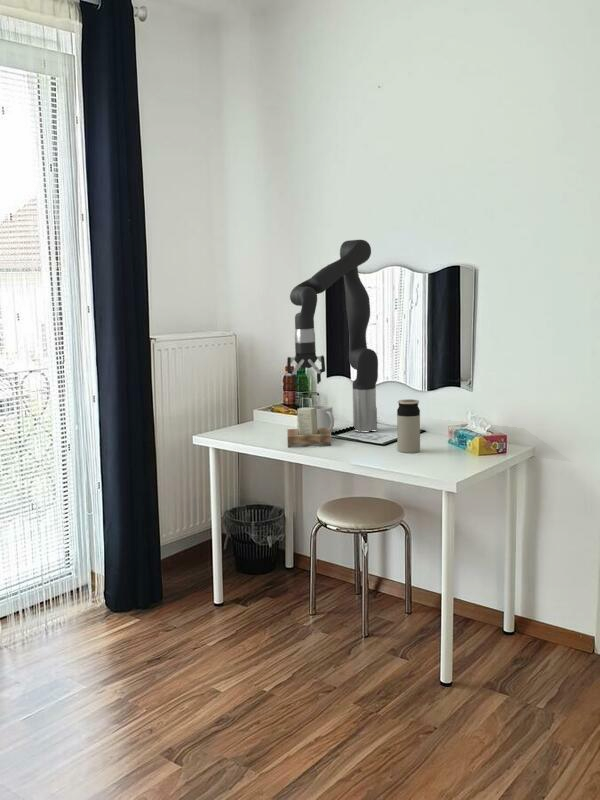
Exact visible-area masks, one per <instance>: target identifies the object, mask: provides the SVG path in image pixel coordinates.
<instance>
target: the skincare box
mask: <svg viewBox="0 0 600 800" xmlns="http://www.w3.org/2000/svg"><path fill="white" fill-rule="evenodd" d="M296 412H297V423H298V425H297V426H298V427H297V429H299V435H308V434H318V427H317V408H310V407H300V408H297V411H296Z"/></svg>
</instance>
